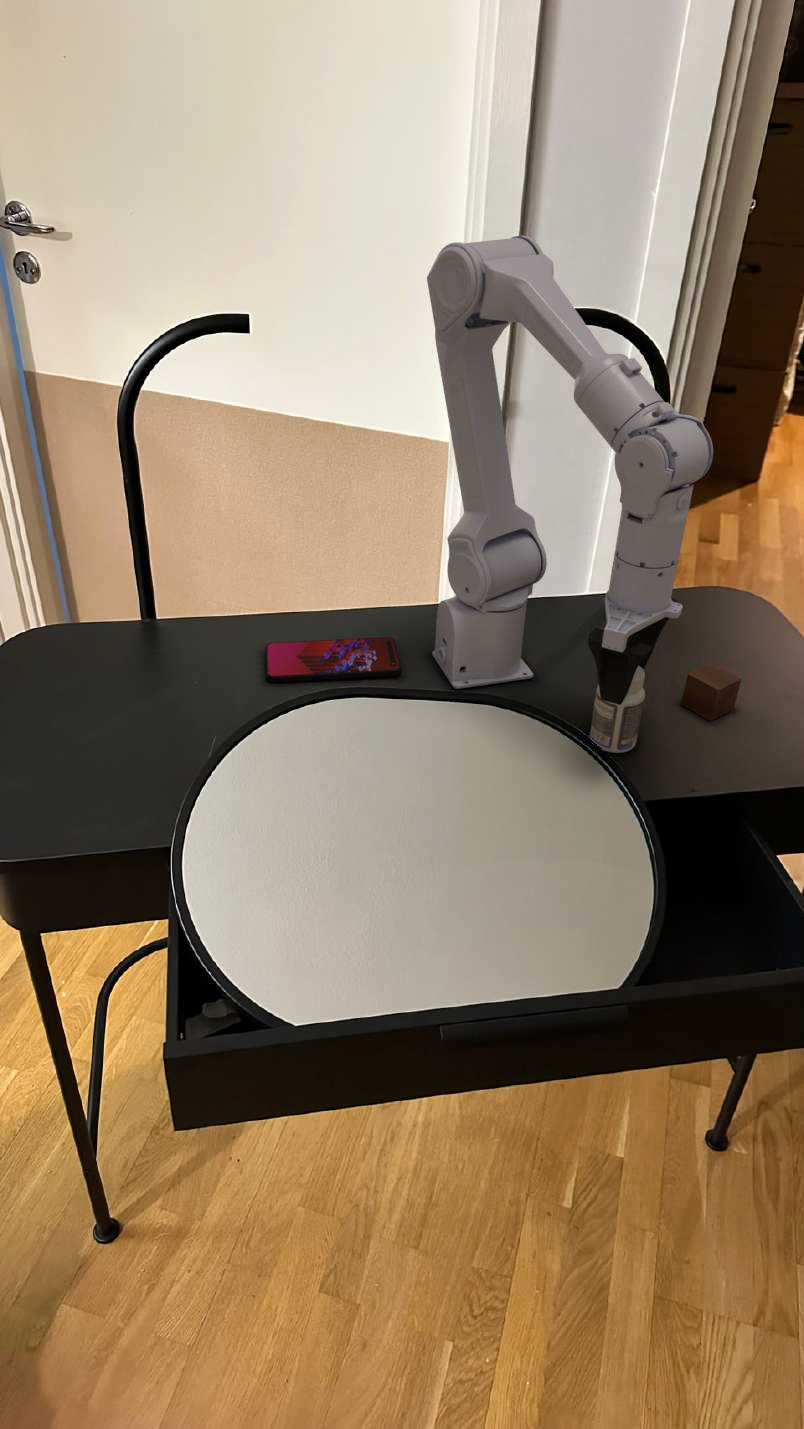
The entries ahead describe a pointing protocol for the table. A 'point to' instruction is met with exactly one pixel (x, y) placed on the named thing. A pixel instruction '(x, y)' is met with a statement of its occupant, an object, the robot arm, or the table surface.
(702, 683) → the walnut block
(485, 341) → the robot arm
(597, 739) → the pill bottle
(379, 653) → the smartphone
